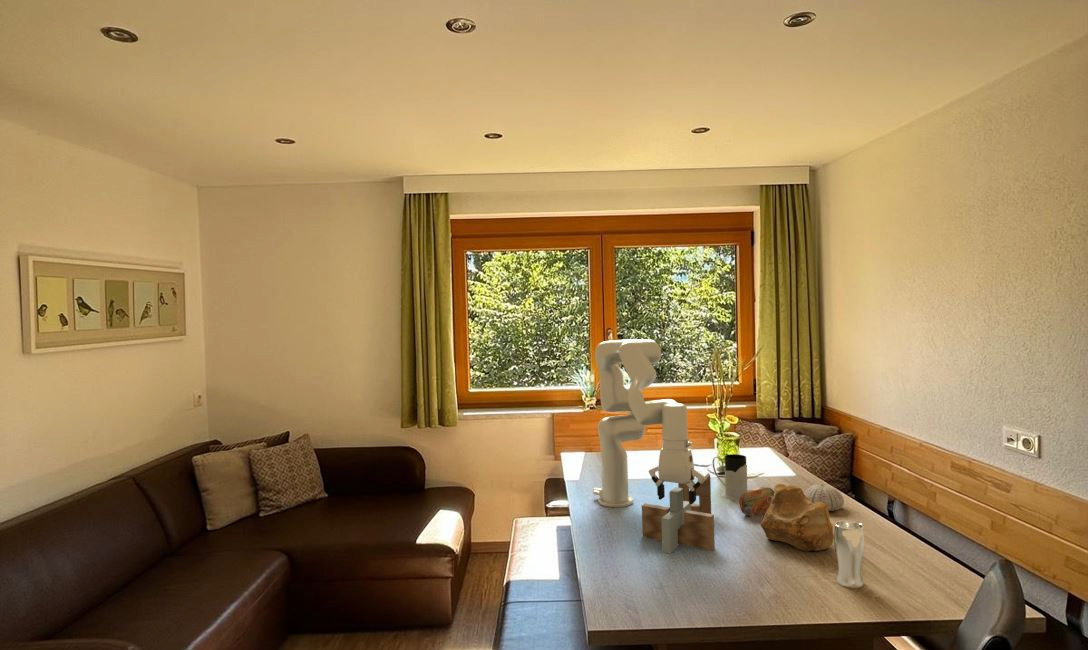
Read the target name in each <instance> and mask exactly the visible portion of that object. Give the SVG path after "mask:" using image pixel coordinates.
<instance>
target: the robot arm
mask: <svg viewBox="0 0 1088 650" xmlns="http://www.w3.org/2000/svg"><path fill="white" fill-rule="evenodd" d="M594 357H595V358H594V359H595V364H596V367H597V371H598V374H599V375H598V376H599V390H600V391H599V392H600V393H599V394H600V405H601V406H600V407H601V408H602V410H603V412H605V413H608V414H609V413H613V414H614V413H625V412H626V413H628V414H623V415H614V416H613V415H612V416H607V417H604V418H602V419H600V420H599V422H598V424H597V434H598V438H599V443H600V458H601V488H599V487H594V488H593V495H596V496H597V495H598V496H599V497H598V499H597V501H598V504H599V505H602V506H603V507H609V508H624V507H628V506H631V505H632V504H634V503H633V501H634V499H633V497H632V496H630V495H629V474H628V473H629V472H628V469H629V467H628V466H629V465H628V453H627V450H626V449H625V448H624V447H623V446H622V443H624V442H633V441H639V440H642V439H643V437H644V435H645V432H646V426H653V425H661V430H662V433H661V435H662V447H661V448H660V452H659V457H658V466H655V467H652V468H651V469H649V470H648V474H649V476H650V477H651V480H652V482H654V484H655V486H656V489H657V490H656V491H657V493H656V495H657V496H658V500H661V501H662V499H663V498H665V497H666V496H665V484H664V482H667V483H674V484H678V483H680V484H687V486H688V487H689V504H693V503H695V502H696V501H697V496H696V489H697V488H698V487H699V486H700V485H701V484H702V482H703V480H704V478H705V476H704V475H703V474H702V473H700V472H698V471H697V470H695V464H694V458H693V452H692V449H691V448H692V447H693V442H692V441H689V437H688V435H689V433H688V432H689V431H688V428H689V427H688V408H687V406H686V404H683V403H682V402H681V403H680V402H677V401H676V400H675V399H672V398H665V399H654V400H652V399H651V400H644V399H645V398H644V394H643V391H642V390H644V389H646V388H648V387H649V386H651V385H652V384H653V383H654V381H655V380H656V379H657V372H656V370H655V368H654V366H653V365H654V364H658V362H660V360H661V358H662V351H661V347H660V345H659V344H658V343H657V342H656V341H655V340H653V339H639V338H637V339H636V338H635V339H633V338H632V339H617V340H616V339H615V340H614V339H613V340H606V341H602V342H600V343H598V344H597V346H596V348H595V351H594ZM620 364H622V366H623V367H624V369H625V371H626V373H627V375H628V377H629V379H630V381H631V383H630V385H629V384H628V385H624V375H623V371H622V370H621V368H620V367H619V365H620ZM656 472H658V476H657V474H656ZM695 478H696V479H697V481H696V482H694V480H695Z"/></svg>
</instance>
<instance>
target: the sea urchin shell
mask: <svg viewBox="0 0 1088 650" xmlns="http://www.w3.org/2000/svg"><path fill="white" fill-rule="evenodd" d="M803 493H804V495H805V496H806V497H808V498H809V499H810V500H811V501H812V502H813V504H815V503H816V502H822V503H824V504H825V505H826V506H827V507H828V511H829V512H834V511H837V510H838V511H839V510H840V509H842V508H843V506H844V504H845V500H844V496H843V495H842V493H840V491H838V490H837V489H836V488H835V487H833V486H830V485H827V484H821V483H820V484H813V485H811V486H809V487H808V488H806V490H804V492H803Z"/></svg>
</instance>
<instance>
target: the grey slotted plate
mask: <svg viewBox="0 0 1088 650" xmlns="http://www.w3.org/2000/svg"><path fill="white" fill-rule="evenodd" d="M668 495H669V507H670V512H669V513H667V514H666V515H665V516H664V517H662V541H661V543H662V544H661V545H662V546H661V548H662V553H667V554H671V553H673V552H674V550H675V549H677V548H678V546H679V544H678V529H679V528H680V527H681V526H684V512H685V511H686V510H690V511H691V504H689V502H687V501H683V488H678V487H674V488H673V489H672V490H670V491H669V494H668Z"/></svg>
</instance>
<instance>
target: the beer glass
mask: <svg viewBox="0 0 1088 650" xmlns="http://www.w3.org/2000/svg"><path fill="white" fill-rule="evenodd" d="M833 536H834V539H833V543H834V548H835V549H834V550H835V555H836V556H835V557H836V560H837V561H836V562H837V566H838V568H837V577H836V582H837V583H838V584H839V585H840V586H842V587H845V588H851V589H859V588H862V587H863V586H864V581H863V576H862V575H863V574H862V566H863V560H864V555H865V548H866V547H865V546H866V545H865V544H866V543H865V532H864V525H863V524H862V523H860V522H857V521H853V520H843V519H842V520H837V521H835V523H834V530H833Z"/></svg>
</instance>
